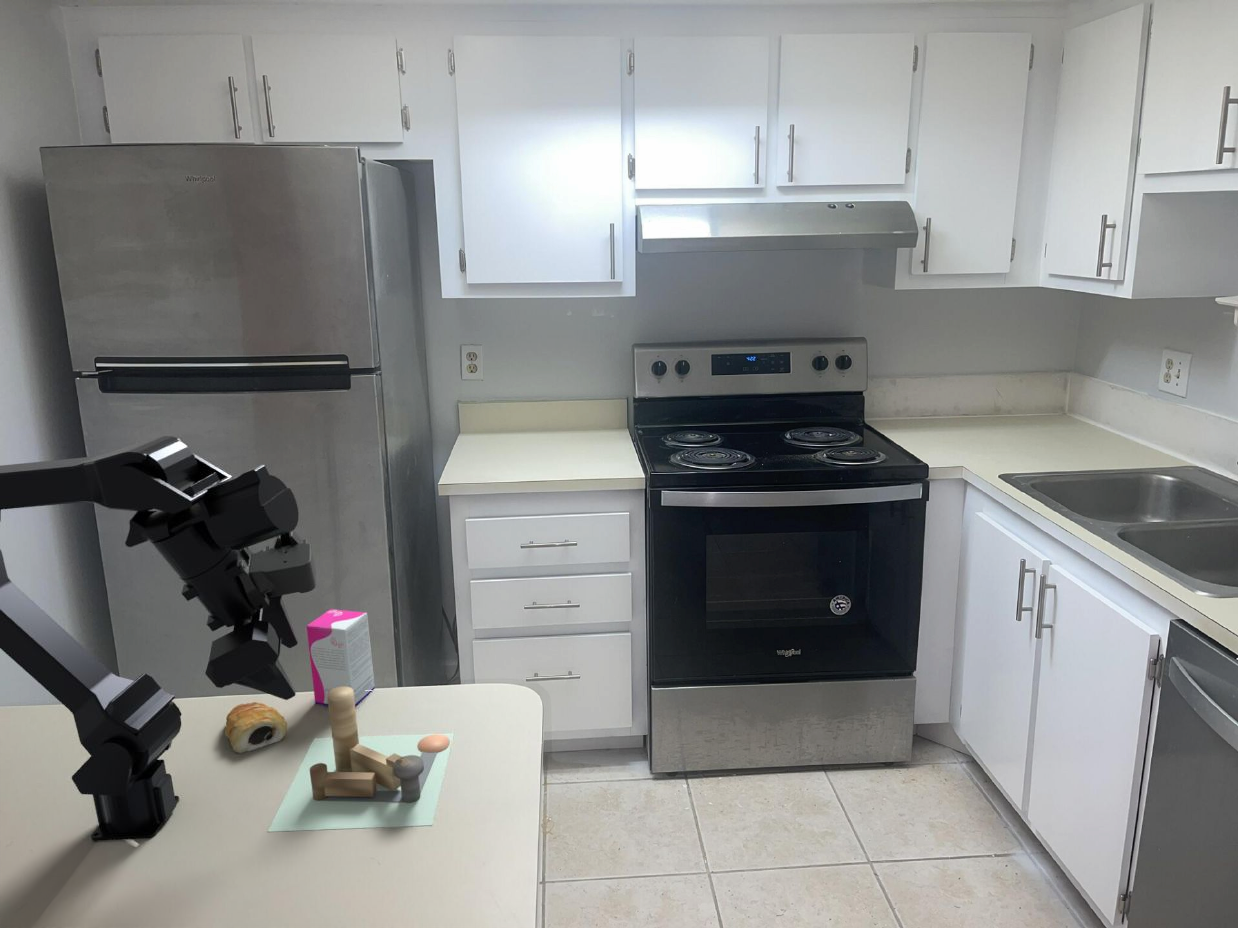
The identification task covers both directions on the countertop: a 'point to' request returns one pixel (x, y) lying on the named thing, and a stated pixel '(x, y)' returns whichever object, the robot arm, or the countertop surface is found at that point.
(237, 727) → the pastry
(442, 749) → the card
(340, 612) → the supplement box
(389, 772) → the rail
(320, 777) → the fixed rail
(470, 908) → the countertop surface
